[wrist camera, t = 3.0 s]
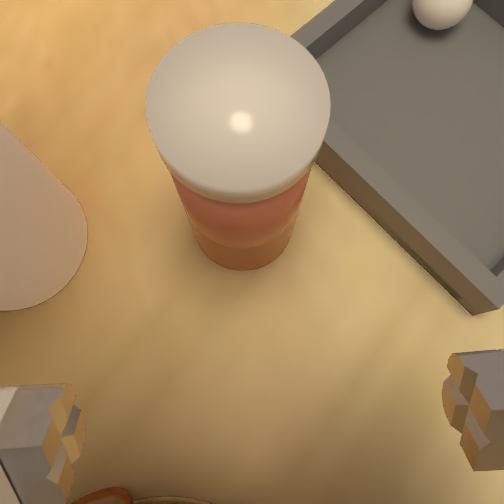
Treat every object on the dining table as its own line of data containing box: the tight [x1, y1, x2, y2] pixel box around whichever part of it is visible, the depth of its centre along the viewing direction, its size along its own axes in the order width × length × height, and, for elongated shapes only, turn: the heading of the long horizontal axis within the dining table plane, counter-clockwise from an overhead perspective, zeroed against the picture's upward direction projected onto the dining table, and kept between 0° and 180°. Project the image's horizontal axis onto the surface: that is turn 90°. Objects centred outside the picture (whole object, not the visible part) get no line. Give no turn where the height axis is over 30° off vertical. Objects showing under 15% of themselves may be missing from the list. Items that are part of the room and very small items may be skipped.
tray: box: [290, 0, 504, 315], centre depth 25 cm, size 16×14×2 cm
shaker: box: [145, 23, 331, 270], centre depth 19 cm, size 5×5×11 cm
